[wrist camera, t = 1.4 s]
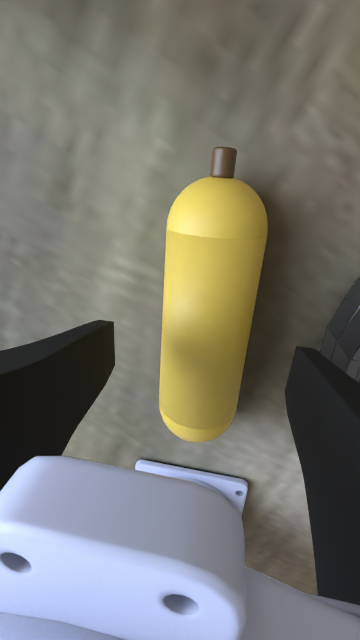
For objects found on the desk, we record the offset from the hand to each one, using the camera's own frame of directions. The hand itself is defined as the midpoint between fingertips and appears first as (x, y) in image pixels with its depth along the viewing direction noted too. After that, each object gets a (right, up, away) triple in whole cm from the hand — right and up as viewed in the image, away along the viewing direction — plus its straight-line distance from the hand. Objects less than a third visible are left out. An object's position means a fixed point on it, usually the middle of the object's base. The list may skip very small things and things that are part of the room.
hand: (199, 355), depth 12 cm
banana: (+1, +2, +5) cm, 5 cm away
